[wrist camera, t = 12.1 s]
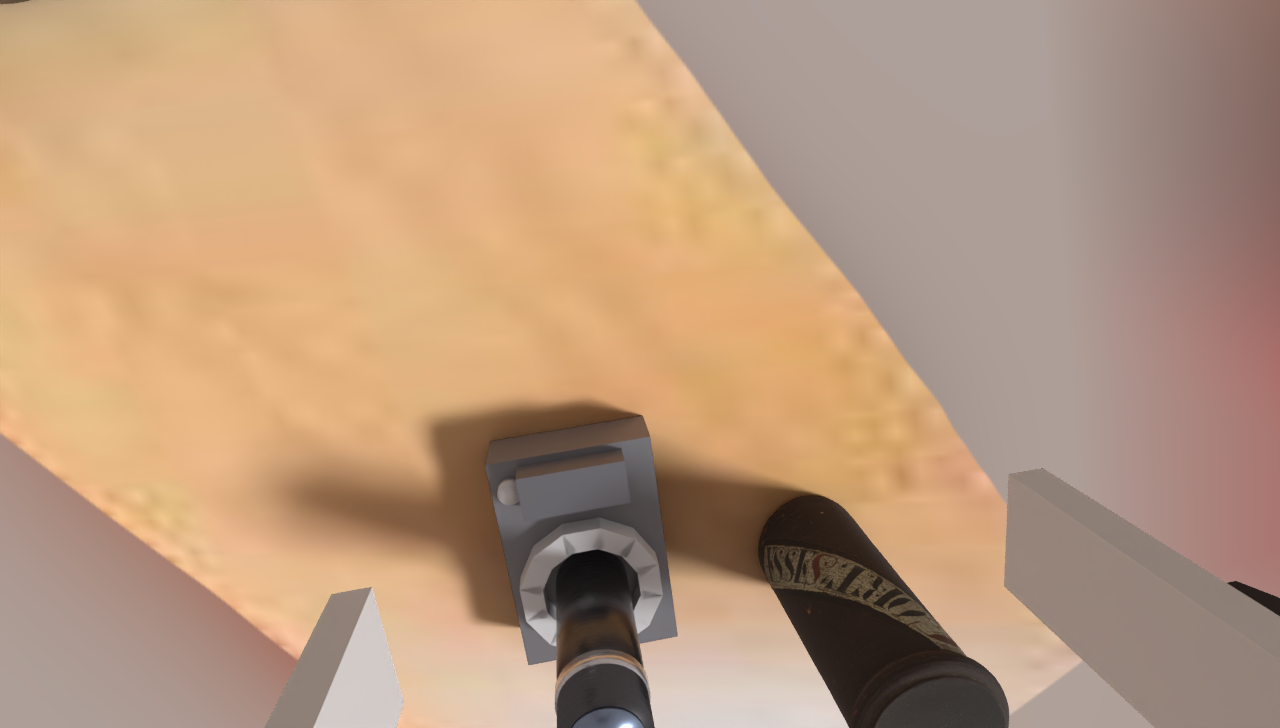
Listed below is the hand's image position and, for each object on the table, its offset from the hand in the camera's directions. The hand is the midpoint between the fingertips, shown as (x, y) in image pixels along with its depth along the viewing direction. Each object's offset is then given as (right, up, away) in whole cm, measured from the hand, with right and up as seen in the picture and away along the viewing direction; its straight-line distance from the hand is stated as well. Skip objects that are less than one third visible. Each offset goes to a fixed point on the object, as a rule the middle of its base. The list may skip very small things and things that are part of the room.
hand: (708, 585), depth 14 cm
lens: (-5, -11, +34) cm, 36 cm away
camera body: (-6, -8, +38) cm, 39 cm away
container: (+12, -10, +41) cm, 43 cm away
